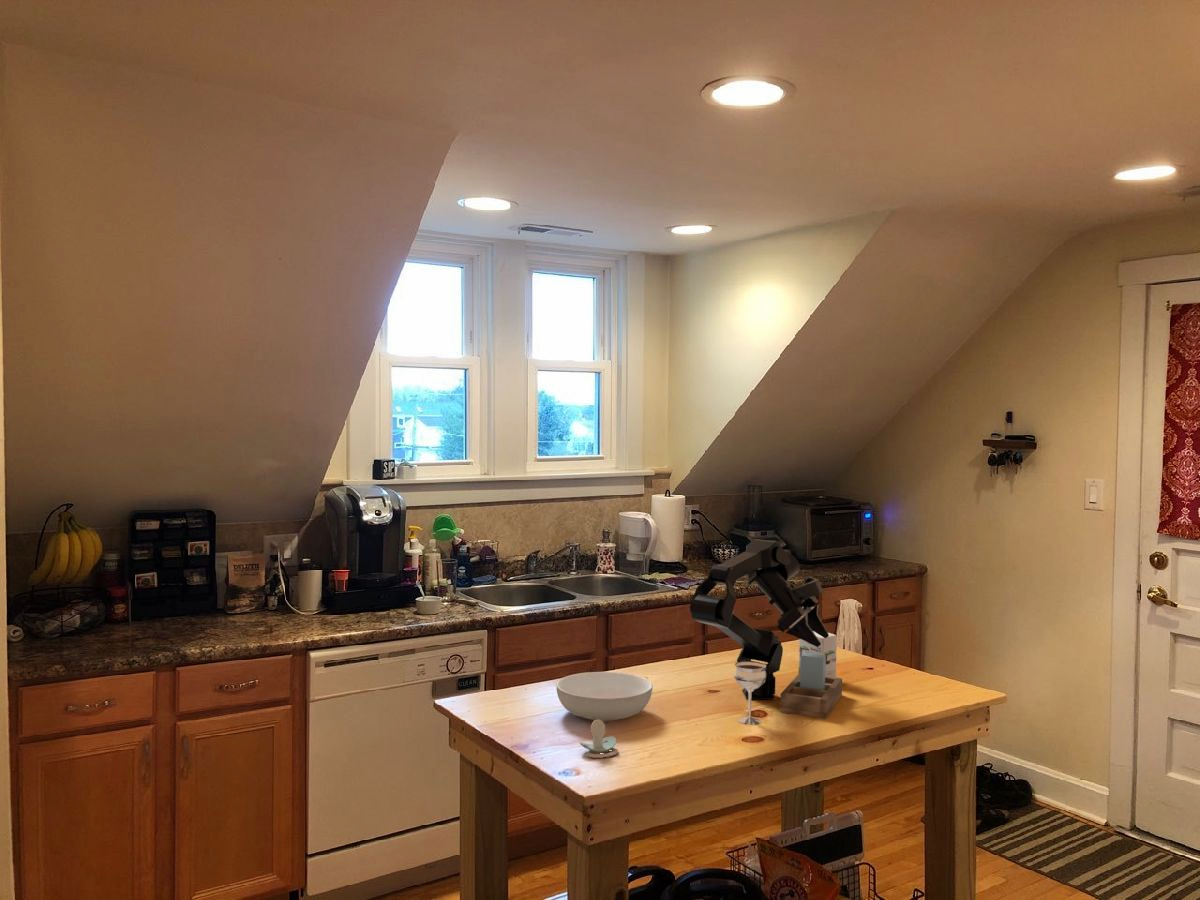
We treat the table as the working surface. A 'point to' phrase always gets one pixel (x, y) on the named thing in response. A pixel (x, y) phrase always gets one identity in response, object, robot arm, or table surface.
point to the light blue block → (812, 671)
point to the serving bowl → (604, 695)
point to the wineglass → (750, 683)
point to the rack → (811, 698)
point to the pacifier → (600, 742)
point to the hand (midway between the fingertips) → (823, 641)
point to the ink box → (822, 652)
